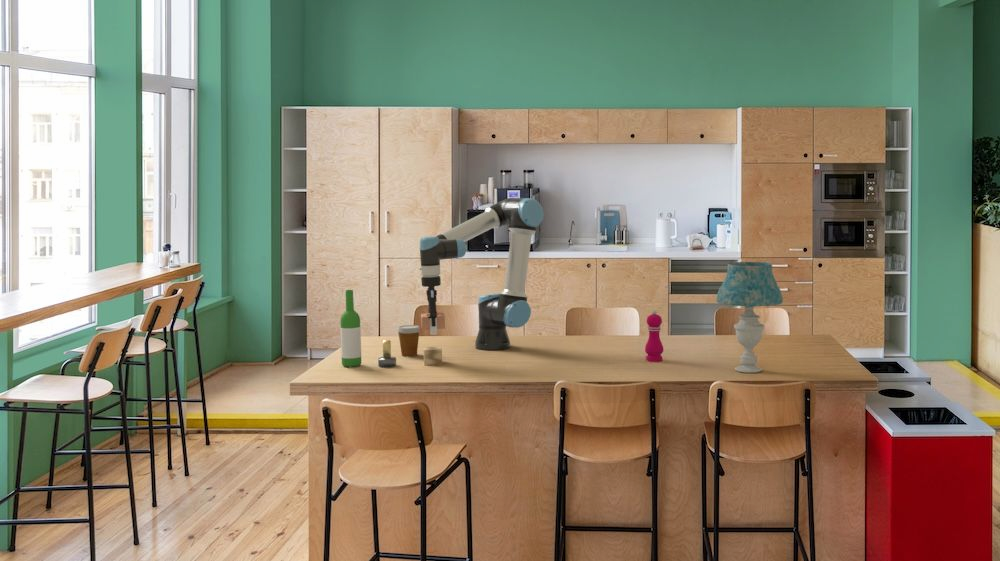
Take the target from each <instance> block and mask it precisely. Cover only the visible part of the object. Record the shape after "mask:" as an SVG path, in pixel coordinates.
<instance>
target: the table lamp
mask: <svg viewBox="0 0 1000 561" xmlns="http://www.w3.org/2000/svg"><path fill="white" fill-rule="evenodd" d="M726 270H727V271H726V275H725V277H724V278H723V281H722V284H721V285H720V287H719V288H718V292H717V296H716V302H717V303H718V304H720V305H724V306H725V305H726V306H735V307H744V312H743V313H742V314H740V315H738V318H739V319H740V320H739V321H738V322H737V323H735V324H734V325H733V329H735V336H736V337H735V338H736V340H737V342H738V343H739V344H740V345H741V346H742V347H743V348H744V351H743V352H742V354H741V355H740V356H739V362H740V364H742V365H738V366H736V367H735V368H734V369H735V371H737V372H739V373H744V374H745V373H746V374H757V373H760V372H762V371H763V368H762V367H760V366H759V365H758V366H757V365H756V364H758V355H755V351H753V350H754V348H755V347H756V346H757V345H758V344H759V343H760V342H761V341H762V337H763V331H764V330H765V325H764V324H763V323H760V321H759V319H760V315H758V314H756V312H755V311H754V309H755V307H769V306H770V307H771V306H778V305H781V304H783V302H784V300H783V295H782V291H781V289H780V287H779V286H778V283H777V281H776V279H775V277H774V274H773V264H772V263H770V262H761V261H737V262H736V261H735V262H729V263H727V269H726Z"/></svg>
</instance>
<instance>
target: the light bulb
mask: <svg viewBox="0 0 1000 561" xmlns="http://www.w3.org/2000/svg"><path fill="white" fill-rule="evenodd" d="M391 346H392V345H391V340H390V339H384V340H382V356H381V357H378V359H377V360H378V361H377V362H378V363H377V364H378V367H379V368H383V369H384V368H395V367H397V357H396V356H392V352H391V351H392V350H391V349H392V347H391Z"/></svg>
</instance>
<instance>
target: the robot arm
mask: <svg viewBox="0 0 1000 561" xmlns="http://www.w3.org/2000/svg"><path fill="white" fill-rule="evenodd" d="M543 208H544V207H543V206H542V205H541V203H540V202H539V201H538V200H537V199H534V198H529V197H510V198H505V199H503V200H501V201H498V202H496V203H495V204H492V205H491V206H488V207H486V208H485V210H484V212H481V213H480V214H478V215H476V216H473V217H472V218H470V219H468V220H466V221H464V222H462V223H460V224H458V225H456V226H454V227H452V228H450V229H448V230H446V231H444V232H443V233H440V234H437V235H436V236H434V235H433V236H432V235H431V236H423V237H420V240H419V254H420V255H419V257H420V267H419V268H418V269H419V271H420V273H421V274H420V275H421V277H420V278H421V286H422V287H425V288H427V290H426V296H427V297H426V299H427V302H428V303H427V304H428V309H427V310H428V313H430V316H428V318H430V329H429V331H430V332H429V333H430V335H435V336H436V335H438V329H437V318H436V317H437V315H436V313H438V310H437V294H438V291H437V290H436V288H435V287H439V286H441V284H442V282H441V264H440V263H441V260H442V261H443V260H450V259H452V260H453V259H459V258H463V257H464V256H465V255H466V252H467V245H466V243H465V242H468V241H470V240H472V239H474V238H475V237H477V236H480V235H482V234H484V233H485V232H488V231H489V230H491V229H495V230H497V229H500V228H501V227H505V226H508V230H509V231H510V233H511V234H510V235H511V236H510V243H509V249H508V257H507V264H506V272H505V280H504V288H503V290H502V291H501V292H500V293H492V294H483V295H480V296H478V302H477V303H478V304H477V306H478V307H477V308H478V331H477V332H478V333H477V335H476V338H475V342H474V346H475V347H474V348H475V349H477V350H482V351H483V350H484V351H498V350H506V349H509V348H511V341H510V337H509V334H508V331H507V327H508V328H515V329H516V328H518V329H519V328H521V327H524V326H525V324H527V322H528V321H530V318H531V314H532V309H531V306H530V304H529V302H528V296H527V294H526V293H525V290H526V284H527V282H526V281H527V275H528V267H529V260H530V252H531V245H532V243H531V242H532V238H533V237H532V236H533V235H534V234H536V232H537V228H538V226H540V224H541V223H542V222H543V220H544V215H545V214H544V210H543Z"/></svg>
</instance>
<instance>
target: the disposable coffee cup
mask: <svg viewBox="0 0 1000 561" xmlns="http://www.w3.org/2000/svg"><path fill="white" fill-rule="evenodd" d="M396 331H397V334H398V340H399V346H400V351H401V356H402V357H405V356H411V357H416V356H417V355H418V348H419V347H418V346H419V337H420V332H421V329H420V325H415V324H414V325H413V324H408V325H407V324H405V325H399V326H398V327H397V329H396Z"/></svg>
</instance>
